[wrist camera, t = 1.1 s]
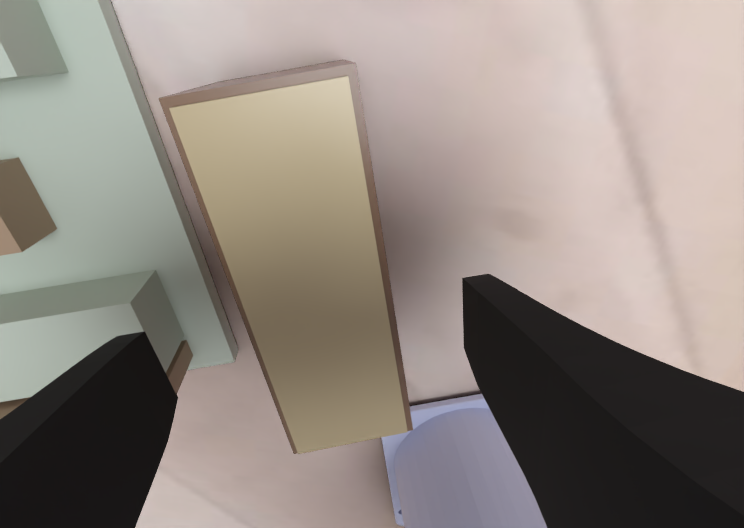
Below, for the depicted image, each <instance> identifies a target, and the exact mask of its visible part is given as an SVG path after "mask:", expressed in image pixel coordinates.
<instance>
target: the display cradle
mask: <svg viewBox="0 0 744 528" xmlns="http://www.w3.org/2000/svg"><path fill="white" fill-rule="evenodd" d="M144 331H145V333H146V335H147V337H148V339H149V341H150V343H151V345H152V347H153V349H154V351H155V353H156V355H157V357H158V359H159V361H160V363H161V365H162V367H163V369H164V371H165V373H166V375H167V377H168V379H169V381H170V383H171V385H172V387H173V389H174V391H175V393H176V394H177V392H178V390H179V387H180V385H181V383H182V381H183V378H184V376H185V374H186V371H187V370H192V369H197V368H203V367H209V366H215V365H221V364H227V363H233V362H235V360H236V356H237V353H238V347H237V345H236V342H235V339H234V337H233V334H232V331H231V328H230V326H229V323H228V320H227V317H226V315H225V312H224V309H223V306H222V304H221V301H220V298H219V296H218V293H217V290H216V287H215V285H214V282H213V279H212V276H211V274H210V271H209V268H208V266H207V263H206V260H205V257H204V255H203V252H202V249H201V246H200V244H199V241H198V238H197V236H196V233H195V230H194V227H193V225H192V222H191V219H190V216H189V214H188V211H187V208H186V205H185V203H184V200H183V197H182V195H181V192H180V189H179V186H178V184H177V181H176V178H175V175H174V173H173V170H172V167H171V165H170V162H169V159H168V156H167V154H166V151H165V148H164V145H163V143H162V140H161V137H160V135H159V132H158V129H157V126H156V124H155V121H154V118H153V115H152V113H151V110H150V107H149V104H148V102H147V99H146V96H145V94H144V91H143V88H142V85H141V83H140V80H139V77H138V74H137V72H136V69H135V66H134V64H133V61H132V58H131V55H130V53H129V50H128V47H127V44H126V42H125V39H124V36H123V34H122V31H121V28H120V25H119V23H118V20H117V17H116V14H115V12H114V9H113V6H112V3H111V1H110V0H0V419H1V418H3V417H4V416H6V415H7V414H8V413H10V412H11V411H13V410H14V409H15V408H17V407H18V406H20V405H21V404H22V403H24V402H25V401H26V400H28V399H29V398H30V397H32V396H33V395H34V394H36V393H37V392H39V391H40V390H41V389H43V388H44V387H45V386H47V385H48V384H49V383H51V382H52V381H53V380H55V379H56V378H57V377H59V376H60V375H62V374H63V373H64V372H66V371H67V370H68V369H70V368H71V367H72V366H74V365H75V364H76V363H78V362H79V361H81V360H82V359H83V358H85V357H86V356H87V355H89V354H90V353H92V352H93V351H95V350H96V349H97V348H99V347H100V346H102V345H103V344H105V343H106V342H108V341H110V340H111V339H113V338H115V337H116V336H120V335H126V334H132V333H138V332H144Z"/></svg>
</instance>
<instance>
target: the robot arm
mask: <svg viewBox="0 0 744 528" xmlns="http://www.w3.org/2000/svg"><path fill="white" fill-rule="evenodd" d="M462 280H463V326H464V349H465V352H466V355H467V358H468V360H469V363H470V366H471V369H472V371H473V374H474V377H475V379H476V382H477V385H478V387H479V389H480V391H481V393H482V394H477V395H471V396H466V397H460V398H454V399H449V400H443V401H437V402H432V403H426V404H420V405H415V406H410V413H411V419H412V426H413V430H411V431H408V432H406V433H401V434H396V435H391V436H386V437H381V439H382V444H383V450H384V456H385V462H386V468H387V473H388V479H389V485H390V491H391V497H392V503H393V508H394V514H395V520H396V523H397V524H398V525H399V526H404V528H744V392H742V391H739V390H736V389H734V388H731V387H728V386H725V385H722V384H719V383H716V382H713V381H710V380H707V379H705V378H702V377H699V376H697V375H694V374H691V373H689V372H686V371H683V370H681V369H678V368H676V367H673V366H671V365H668V364H666V363H663V362H661V361H659V360H656V359H654V358H651V357H649V356H646V355H644V354H642V353H639V352H637V351H634V350H632V349H630V348H628V347H625V346H623V345H621V344H619V343H617V342H614V341H612V340H610V339H608V338H606V337H604V336H602V335H600V334H598V333H596V332H594V331H592V330H590V329H588V328H586V327H584V326H582V325H580V324H578V323H576V322H574V321H572V320H570V319H568V318H567V317H565V316H563V315H561V314H559V313H557V312H555V311H554V310H552V309H550V308H548V307H546V306H545V305H543V304H541V303H539V302H538V301H536V300H534V299H532V298H531V297H529V296H527V295H525V294H524V293H522V292H520V291H519V290H517V289H515V288H513V287H512V286H510V285H508V284H507V283H505V282H503V281H501V280H500V279H498V278H496V277H494V276H492V275H490V274H484V275H478V276H472V277H466V278H462ZM177 399H178V397H177V395H176V393H175V391H174V389H173V387H172V385H171V383H170V381H169V379H168V377H167V375H166V373H165V371H164V369H163V367H162V365H161V363H160V361H159V359H158V357H157V355H156V353H155V351H154V349H153V347H152V345H151V343H150V341H149V339H148V337H147V335H146V333H145V331H144V332H138V333H132V334H126V335H120V336H116V337H115V338H113V339H111V340H110V341H108V342H106V343H105V344H103V345H102V346H100V347H99V348H97V349H96V350H95V351H93V352H92V353H90V354H89V355H87V356H86V357H85V358H83V359H82V360H81V361H79V362H78V363H76V364H75V365H74V366H72V367H71V368H70V369H68V370H67V371H66V372H64V373H63V374H62V375H60V376H59V377H57V378H56V379H55V380H53V381H52V382H51V383H49V384H48V385H47V386H45V387H44V388H43V389H41V390H40V391H39V392H37V393H36V394H34V395H33V396H32V397H30V398H29V399H28V400H26V401H25V402H24V403H22V404H21V405H20V406H18V407H17V408H15V409H14V410H13V411H11V412H10V413H8V414H7V415H6V416H4V417H3V418H1V419H0V528H135V526H136V523H137V521H138V518H139V516H140V513H141V511H142V508H143V505H144V503H145V500H146V498H147V495H148V492H149V490H150V487H151V485H152V482H153V480H154V477H155V474H156V472H157V469H158V466H159V464H160V461H161V458H162V456H163V453H164V450H165V447H166V445H167V442H168V438H169V434H170V430H171V426H172V423H173V418H174V413H175V409H176V404H177Z"/></svg>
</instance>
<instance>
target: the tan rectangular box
mask: <svg viewBox="0 0 744 528" xmlns="http://www.w3.org/2000/svg"><path fill="white" fill-rule="evenodd" d="M159 101H160V103H161V106H162V109H163V111H164V114H165V117H166V119H167V122H168V124H169V127H170V130H171V132H172V135H173V138H174V140H175V143H176V145H177V148H178V151H179V153H180V156H181V159H182V161H183V164H184V166H185V169H186V172H187V174H188V177H189V180H190V182H191V185H192V187H193V190H194V193H195V195H196V198H197V201H198V203H199V206H200V209H201V211H202V214H203V216H204V219H205V222H206V224H207V227H208V230H209V232H210V235H211V237H212V240H213V243H214V245H215V248H216V251H217V253H218V256H219V258H220V261H221V264H222V266H223V269H224V272H225V274H226V277H227V279H228V282H229V285H230V287H231V290H232V293H233V295H234V298H235V300H236V303H237V306H238V308H239V311H240V314H241V316H242V319H243V321H244V324H245V327H246V329H247V332H248V335H249V337H250V340H251V342H252V345H253V348H254V350H255V353H256V356H257V358H258V361H259V363H260V366H261V369H262V371H263V374H264V377H265V379H266V382H267V384H268V387H269V390H270V392H271V395H272V398H273V400H274V403H275V405H276V408H277V411H278V413H279V416H280V419H281V421H282V424H283V427H284V429H285V432H286V434H287V437H288V440H289V442H290V445H291V448H292V450H293V453H294V454H296V453H298V454H301V453H306V452H311V451H316V450H321V449H326V448H331V447H336V446H341V445H346V444H351V443H356V442H361V441H366V440H371V439H376V438H381V437H386V436H391V435H396V434H401V433H406V432H408V431H411V430H413V426H412V419H411V413H410V406H409V400H408V394H407V387H406V381H405V375H404V368H403V362H402V355H401V349H400V343H399V336H398V330H397V324H396V317H395V311H394V304H393V298H392V292H391V285H390V279H389V273H388V266H387V260H386V253H385V247H384V241H383V234H382V228H381V222H380V215H379V209H378V202H377V196H376V190H375V183H374V177H373V170H372V164H371V158H370V151H369V145H368V139H367V132H366V126H365V119H364V113H363V107H362V100H361V94H360V88H359V81H358V75H357V68H356V63H354V62H350V61H347V60H339V61H333V62H327V63H322V64H316V65H311V66H305V67H299V68H294V69H288V70H282V71H277V72H271V73H266V74H260V75H254V76H249V77H243V78H237V79H232V80H226V81H221V82H216V83H213V84H209V85H205V86H202V87H198V88H194V89H191V90H187V91H183V92H180V93H176V94H172V95H169V96H165V97H161V98H159Z"/></svg>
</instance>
